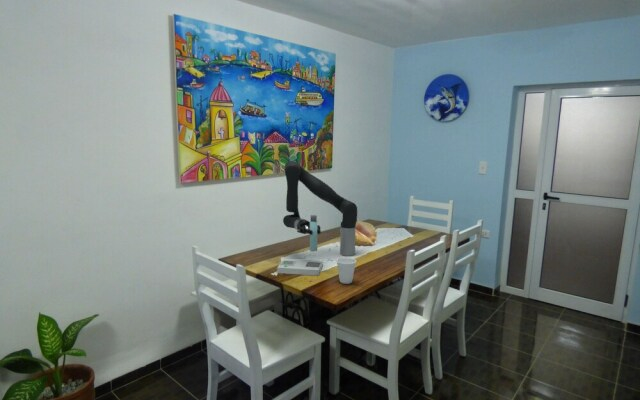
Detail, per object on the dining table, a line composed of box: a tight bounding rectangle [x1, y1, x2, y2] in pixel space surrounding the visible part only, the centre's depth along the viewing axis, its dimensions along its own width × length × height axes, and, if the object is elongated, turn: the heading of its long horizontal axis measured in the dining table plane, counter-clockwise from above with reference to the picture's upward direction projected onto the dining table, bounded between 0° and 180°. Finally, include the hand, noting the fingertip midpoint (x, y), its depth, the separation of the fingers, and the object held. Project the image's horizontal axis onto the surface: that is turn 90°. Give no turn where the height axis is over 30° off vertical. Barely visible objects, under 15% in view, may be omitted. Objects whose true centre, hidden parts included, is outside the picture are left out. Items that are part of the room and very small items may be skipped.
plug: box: [309, 214, 318, 252], centre depth 201 cm, size 4×4×19 cm
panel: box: [276, 258, 324, 277], centre depth 205 cm, size 16×22×4 cm
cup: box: [336, 257, 357, 285], centre depth 186 cm, size 10×10×11 cm
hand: (315, 232), depth 198 cm, fingers closed on plug, 4 cm apart
